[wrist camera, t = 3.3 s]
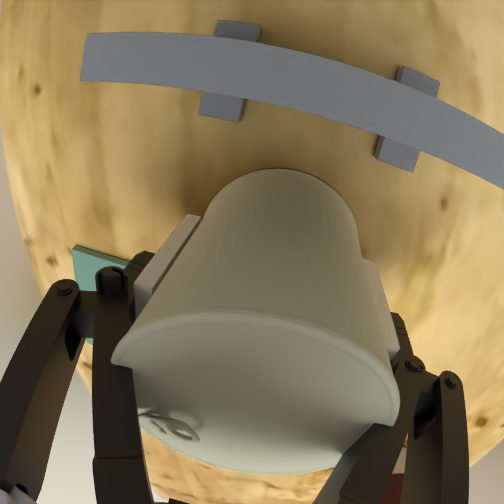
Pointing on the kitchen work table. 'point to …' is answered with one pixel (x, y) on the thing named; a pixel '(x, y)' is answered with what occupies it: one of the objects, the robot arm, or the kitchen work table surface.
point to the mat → (91, 268)
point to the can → (264, 334)
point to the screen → (301, 91)
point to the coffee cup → (395, 481)
